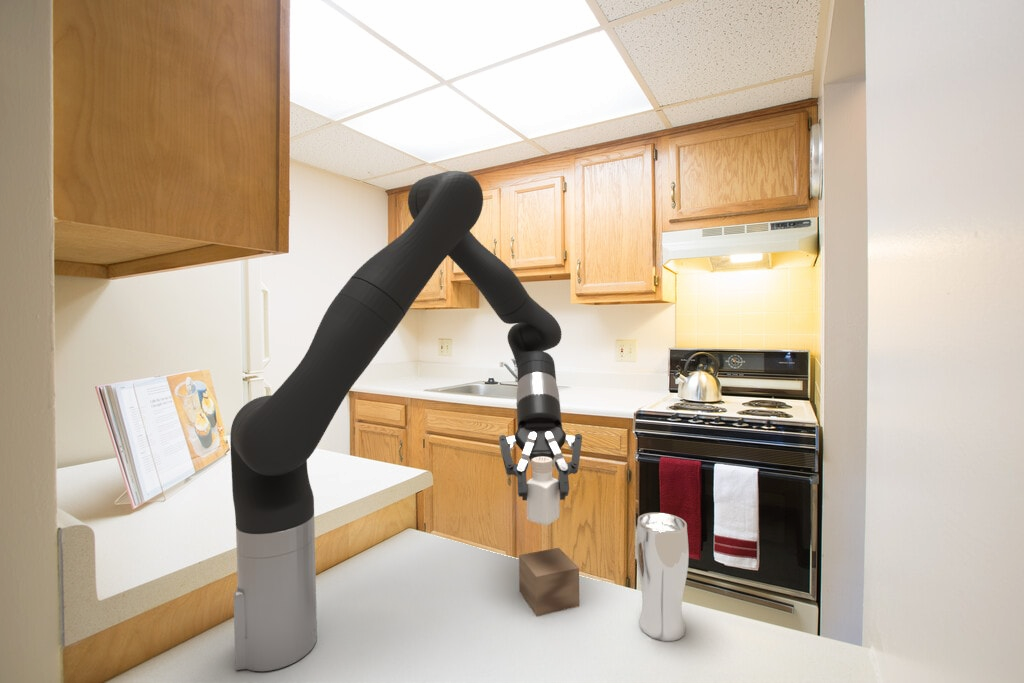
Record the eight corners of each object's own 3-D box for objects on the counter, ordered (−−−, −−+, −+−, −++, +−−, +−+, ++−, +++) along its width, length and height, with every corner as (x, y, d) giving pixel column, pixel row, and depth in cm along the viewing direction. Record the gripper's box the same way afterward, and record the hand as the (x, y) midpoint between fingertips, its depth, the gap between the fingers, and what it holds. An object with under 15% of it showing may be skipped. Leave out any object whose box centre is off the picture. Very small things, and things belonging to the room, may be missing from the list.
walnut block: (536, 617, 69) (536, 576, 69) (519, 592, 76) (519, 555, 76) (579, 607, 72) (579, 567, 71) (558, 583, 78) (558, 547, 78)
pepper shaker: (547, 527, 71) (546, 464, 70) (525, 521, 73) (524, 460, 73) (561, 518, 74) (560, 458, 73) (539, 512, 76) (538, 454, 76)
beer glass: (681, 613, 69) (681, 512, 69) (694, 645, 62) (695, 533, 62) (632, 611, 70) (632, 511, 70) (640, 642, 63) (640, 531, 63)
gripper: (496, 392, 80) (495, 488, 69) (581, 391, 80) (594, 486, 69) (498, 417, 86) (497, 509, 74) (577, 415, 86) (589, 507, 74)
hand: (543, 497), depth 71 cm, fingers closed on pepper shaker, 5 cm apart
